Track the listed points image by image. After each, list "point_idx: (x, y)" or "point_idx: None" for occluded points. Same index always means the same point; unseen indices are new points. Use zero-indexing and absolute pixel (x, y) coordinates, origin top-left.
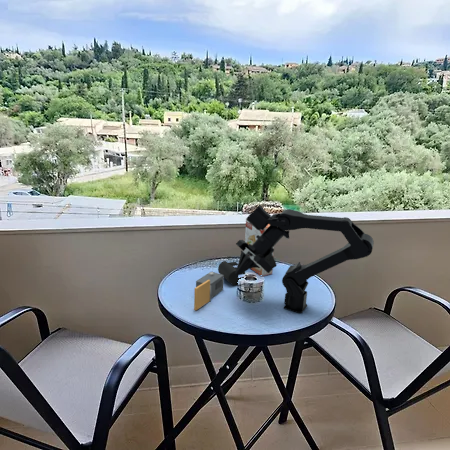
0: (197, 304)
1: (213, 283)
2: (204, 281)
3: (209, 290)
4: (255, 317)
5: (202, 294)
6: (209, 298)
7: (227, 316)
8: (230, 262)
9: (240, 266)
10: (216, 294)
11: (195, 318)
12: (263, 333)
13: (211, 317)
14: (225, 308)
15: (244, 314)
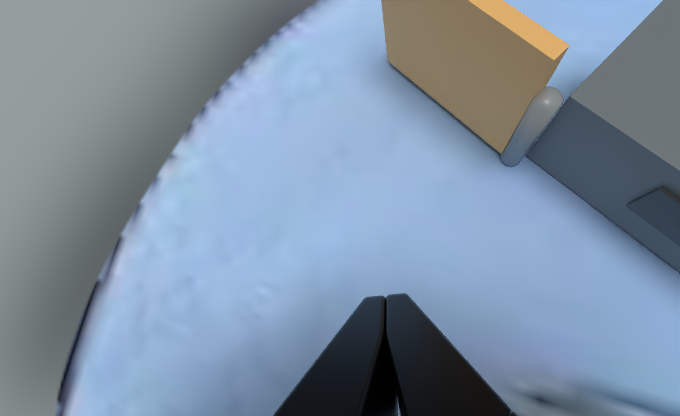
0: (396, 48)
1: (631, 150)
2: (655, 63)
3: (517, 112)
4: (244, 406)
5: (441, 50)
6: (504, 144)
7: (298, 230)
8: None
9: (306, 395)
10: (617, 224)
11: (317, 58)
12: (78, 383)
13: (308, 139)
14: (397, 242)
15: (296, 345)
